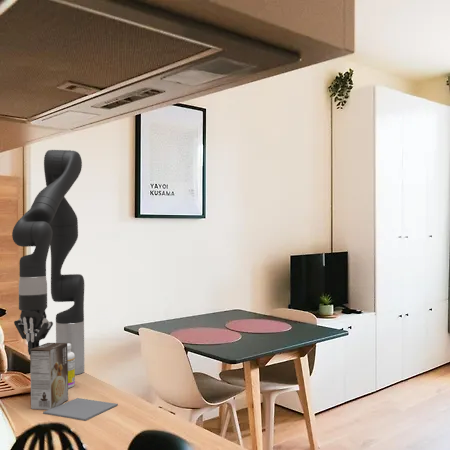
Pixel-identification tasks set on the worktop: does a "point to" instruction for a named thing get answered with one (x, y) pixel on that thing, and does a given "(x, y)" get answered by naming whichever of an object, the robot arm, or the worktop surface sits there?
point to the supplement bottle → (71, 366)
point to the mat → (80, 409)
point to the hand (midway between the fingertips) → (33, 354)
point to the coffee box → (49, 375)
